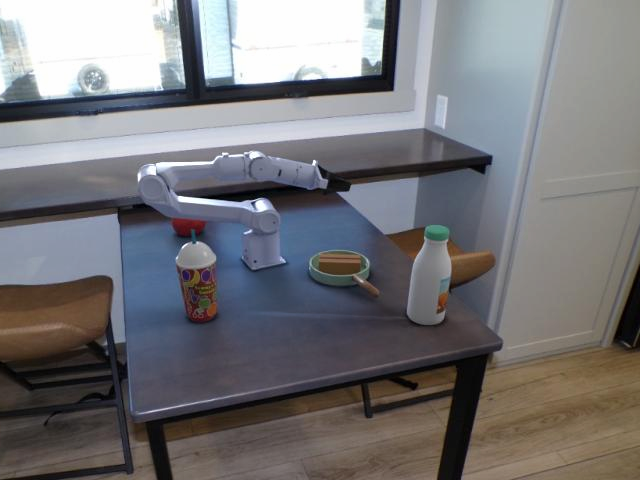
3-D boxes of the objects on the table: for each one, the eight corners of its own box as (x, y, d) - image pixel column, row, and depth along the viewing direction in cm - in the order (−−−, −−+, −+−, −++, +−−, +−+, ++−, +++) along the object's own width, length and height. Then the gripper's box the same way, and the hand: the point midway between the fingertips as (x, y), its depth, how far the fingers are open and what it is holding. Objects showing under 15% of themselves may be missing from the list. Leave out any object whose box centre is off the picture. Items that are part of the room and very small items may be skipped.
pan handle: (350, 280, 122) (350, 273, 121) (357, 278, 123) (357, 271, 122) (374, 299, 114) (374, 292, 113) (381, 297, 114) (381, 290, 114)
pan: (326, 292, 120) (327, 281, 119) (299, 267, 132) (299, 256, 131) (380, 279, 125) (381, 268, 124) (349, 256, 137) (350, 245, 135)
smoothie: (205, 329, 108) (195, 241, 98) (175, 319, 112) (162, 233, 102) (229, 311, 114) (222, 226, 104) (199, 302, 118) (190, 219, 108)
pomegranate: (213, 233, 153) (210, 203, 148) (182, 241, 148) (178, 211, 144) (197, 223, 160) (194, 194, 155) (167, 231, 155) (163, 201, 151)
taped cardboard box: (318, 275, 127) (318, 261, 125) (319, 266, 131) (319, 253, 129) (359, 276, 126) (360, 262, 124) (359, 267, 130) (360, 254, 128)
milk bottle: (423, 330, 106) (436, 239, 96) (398, 313, 112) (408, 226, 102) (452, 320, 109) (467, 231, 99) (426, 303, 115) (438, 218, 105)
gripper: (306, 162, 118) (359, 173, 122) (289, 151, 131) (338, 162, 135) (298, 192, 121) (351, 202, 125) (283, 179, 133) (331, 188, 138)
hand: (344, 183), depth 130 cm, fingers open, 7 cm apart
